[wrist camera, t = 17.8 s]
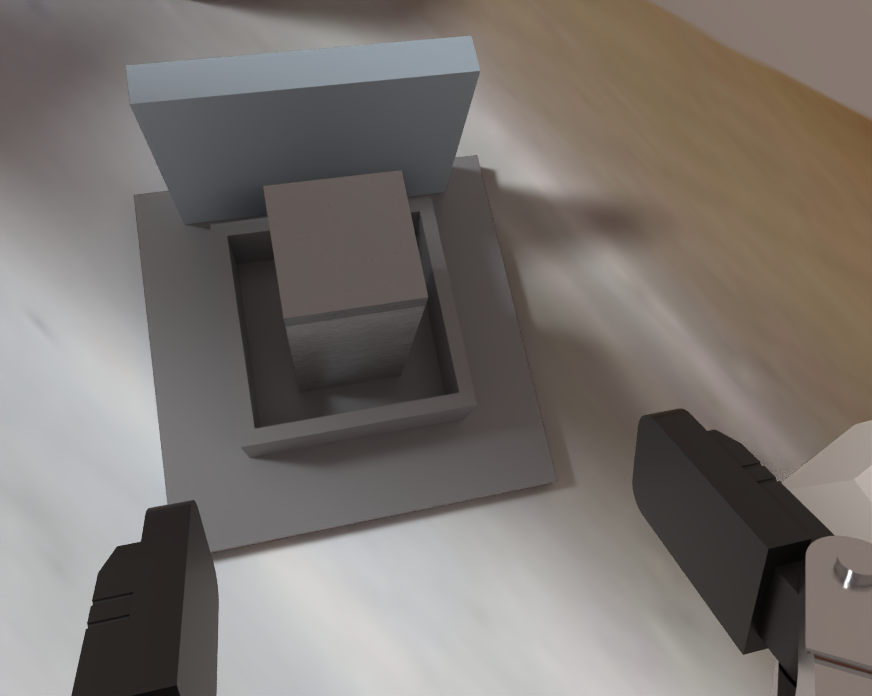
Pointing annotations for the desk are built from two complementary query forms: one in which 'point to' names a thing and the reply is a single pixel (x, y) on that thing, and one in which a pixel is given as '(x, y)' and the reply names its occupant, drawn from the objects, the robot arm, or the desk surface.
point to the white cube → (839, 484)
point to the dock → (261, 304)
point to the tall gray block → (346, 276)
